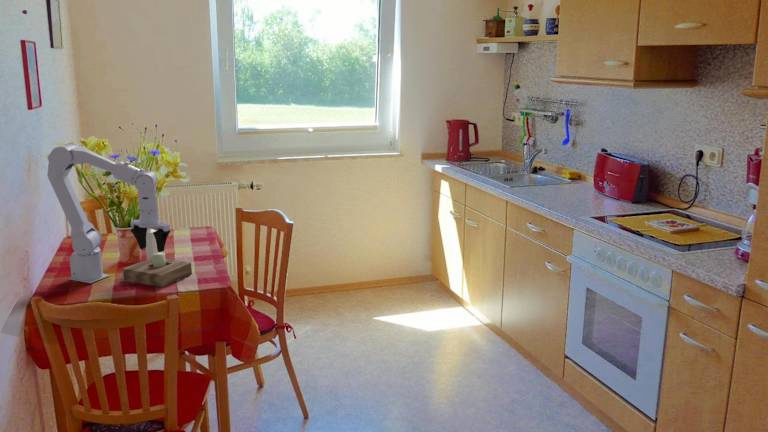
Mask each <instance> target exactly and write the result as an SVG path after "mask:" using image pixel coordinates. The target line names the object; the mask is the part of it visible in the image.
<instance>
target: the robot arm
mask: <svg viewBox="0 0 768 432" xmlns="http://www.w3.org/2000/svg"><path fill="white" fill-rule="evenodd" d="M48 154H49V155H48V156H47V160H48V161H47V162H48V165H47V166H48V167H47V178H48V181H49V183H50V185H51V187H52V189H53V191H54V193H55V195H56V198H57V200H58V202H59V205H60V206H61V209H62V211H63V214H64V216H65V217H66V219H67V221H68V224H69V226H70V239H71V243H72V244H71V245H72V249H73V251H74V252H72V254H71V255H70V258H69V265H70V267H69V268H70V274H71V277H69V280H70V281H76V282H81V283H86V284H93V283H95V282H98V281H100V280H101V281H102V280H103V279H106V278H108V277H110V274H108V273H104V271H103V262H102V261H103V260H102V252H101V248H100V245H101V244H102V240H103V238H102V235H101V233H100V231H98V230H97V229H96V228H95V226H94V224H93V223H92V222H90V221H88V218H87V216H86V213H85V211H84V209H83V207H82V205H81V201H79V198H78V196H77V194H76V191H75V189H74V187H73V185H72V182H71V181H70V178H69V174H70V172H71V170H72V168H73V167H74V166H75V165H80V164H81V165H83V164H88V165H91V166H93V167H96V168H99V169H101V170H103V171H107V172H108V173H111V175H112V177H113V178H114V179H116V180H119V181H121V182H123V183H126V184H129V185H130V186H134V187H135V189H136V190H137V195H138V196H137V197H138V198H137V199H138V208H139V210H138V211H139V219H133V220H130V227H131V229H130V232H131V233H132V235H133V236H134V238H135V239H136V242H137V245H138V247H139V250H143V249H145V248H146V233H147V228H149V229H153V230H156V231H155V232H153V234H154V236H155V239H156V243H157V253H159V252H164V251H165V246H166V243H167V239H168V237H169V234H170V233H171V230H170V229H171V227H170V224H169V223H165V222H162V221H160V218H159V215H160V214H159V205H158V204H159V203H158V195H157V187H156V186H157V184H158V182H159V179H158V177H157V174H155V172H153V171H152V170H145V169H144V168H143V167H141V168H138V167H136V166H134V165H131V163H130V162H129V161H127V160H126V161H118V162H115V161H113V160H111V159H108V158H106V157H104V156H102V155H100V154H98V153H96V152H94V151H91V150H90V149H87V148H86V147H84V146H82V145H77V144H75V143H72V142H71V143H66V144H64V145H61V146H56V147H54V148H53V149H52V150H51V151H50V153H48Z"/></svg>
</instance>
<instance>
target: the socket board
mask: <svg viewBox="0 0 768 432" xmlns="http://www.w3.org/2000/svg"><path fill="white" fill-rule="evenodd" d="M165 260H166V266H164V267H162V268H156V267H153V259H152V258H149V259H147V258H146V259H144V260H141V261H139V262H136V263H134V264H131V265H128V266H126V267H123V268H122V273H123V274H122V275H123V276H122V277H123V281H126V282H132V283H135V284H136V283H138V284H142V285H148V286H155V287H158V288H159V287H160V288H164V287H166V286H169V285H170V284H173V283H175V282H177V281H179V280H182V279H184V278H187V277H189V276H190V275H192V274H193V271H192V262H190V261H184V260H183V261H182V260H177V259H170V258H165Z"/></svg>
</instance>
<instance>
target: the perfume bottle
mask: <svg viewBox="0 0 768 432" xmlns="http://www.w3.org/2000/svg"><path fill="white" fill-rule="evenodd" d="M155 231H157V230H156V229H149V228H147V233H146V248H144V249H145V255H146V260H147V259H149V258H152V254H154V253H158V250H157V243H156V239H155V236H154V234H153V232H155Z"/></svg>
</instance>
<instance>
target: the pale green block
mask: <svg viewBox="0 0 768 432" xmlns="http://www.w3.org/2000/svg"><path fill="white" fill-rule="evenodd" d="M152 259H153V267H156V268H162V267H164V266H166V260H165V259H166V253H165V252H164V251H162V252H157V253H154V254H152Z"/></svg>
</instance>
